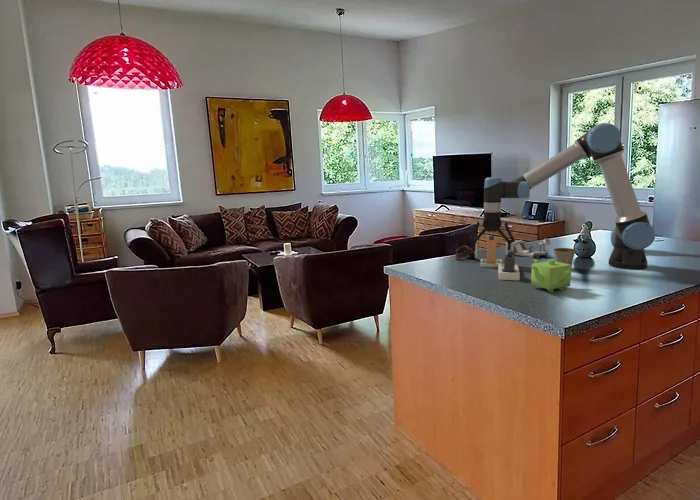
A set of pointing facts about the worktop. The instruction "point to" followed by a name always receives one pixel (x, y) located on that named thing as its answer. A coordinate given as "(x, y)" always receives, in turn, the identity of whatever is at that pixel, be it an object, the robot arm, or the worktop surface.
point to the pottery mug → (464, 252)
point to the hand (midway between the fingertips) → (491, 256)
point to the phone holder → (521, 250)
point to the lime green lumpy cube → (550, 275)
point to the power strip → (508, 268)
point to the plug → (491, 250)
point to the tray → (484, 264)
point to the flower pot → (564, 255)
